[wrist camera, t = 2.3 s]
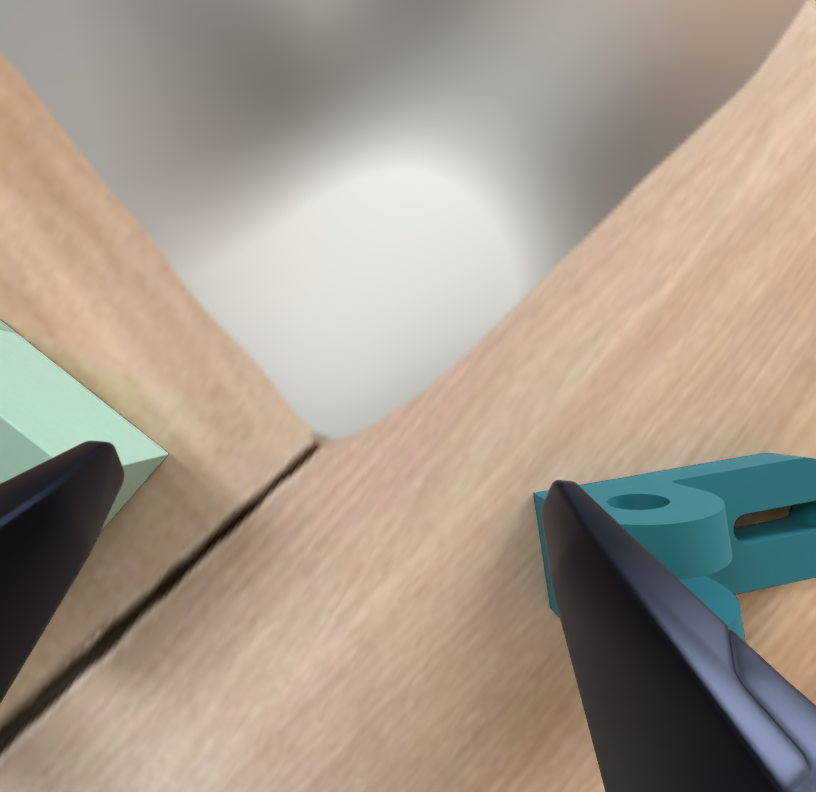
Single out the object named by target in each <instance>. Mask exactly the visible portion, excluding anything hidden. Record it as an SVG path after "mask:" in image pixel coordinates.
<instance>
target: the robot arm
mask: <svg viewBox="0 0 816 792" xmlns="http://www.w3.org/2000/svg"><path fill="white" fill-rule="evenodd" d="M124 476H125V474H124V469H123V466H122V464H121V461H120V459H119V456H118V453H117V451H116V448H115V446H114V445H113V444H112V443H110V442H104V441H86V442H83V443H81V444H79V445H77V446H75V447H73V448H71V449H69V450H67V451H65V452H63V453H61V454H59V455H57V456H55V457H53V458H51V459H49V460H47V461H45V462H43V463H41V464H39V465H37V466H35V467H33V468H31V469H29V470H27V471H25V472H23V473H21V474H19V475H17V476H15V477H13V478H11V479H9V480H7V481H5V482H3V483H1V484H0V703H1V702H2V700H3V698H4V697H5V695H6V693H7V692H8V690H9V688H10V687H11V685H12V683H13V682H14V680H15V678H16V677H17V675H18V673H19V672H20V670H21V668H22V667H23V665H24V663H25V662H26V660H27V658H28V657H29V655H30V653H31V652H32V650H33V648H34V647H35V645H36V643H37V642H38V640H39V638H40V637H41V635H42V633H43V632H44V630H45V628H46V627H47V625H48V623H49V622H50V620H51V618H52V617H53V615H54V613H55V612H56V610H57V608H58V606H59V605H60V603H61V601H62V600H63V598H64V596H65V595H66V593H67V591H68V590H69V588H70V586H71V585H72V583H73V581H74V580H75V578H76V576H77V575H78V573H79V571H80V570H81V568H82V566H83V565H84V563H85V561H86V559H87V558H88V556H89V554H90V552H91V550H92V548H93V546H94V544H95V542H96V540H97V538H98V536H99V534H100V532H101V530H102V527H103V525H104V523H105V521H106V519H107V517H108V514H109V512H110V510H111V508H112V506H113V504H114V501H115V499H116V497H117V495H118V493H119V491H120V489H121V486H122V484H123V481H124ZM541 516H542V523H543V530H544V537H545V543H546V550H547V557H548V564H549V571H550V577H551V582H552V587H553V591H554V596H555V600H556V603H557V607H558V611H559V615H560V619H561V623H562V626H563V630H564V634H565V638H566V642H567V646H568V649H569V653H570V657H571V661H572V665H573V669H574V672H575V676H576V680H577V684H578V688H579V692H580V695H581V699H582V703H583V707H584V711H585V715H586V718H587V722H588V726H589V730H590V734H591V738H592V741H593V745H594V749H595V753H596V757H597V761H598V764H599V768H600V772H601V776H602V780H603V784H604V787H605V791H606V792H816V705H815V704H813V703H812V702H811V701H810V700H809V699H808V698H806V697H805V696H804V695H803V694H802V693H801V692H800V691H798V690H797V689H796V688H795V687H794V686H793V685H791V684H790V683H789V682H788V681H787V680H786V679H785V678H784V677H782V676H781V675H780V674H779V673H778V672H777V671H776V670H775V669H774V668H773V667H772V666H770V665H769V664H768V663H767V662H766V661H765V660H764V659H763V658H762V657H761V656H760V655H758V654H757V653H756V652H755V651H754V650H753V649H752V648H751V647H750V646H749V645H748V644H747V643H746V642H744V641H743V640H742V639H741V638H740V637H739V636H738V635H737V634H736V633H735V632H734V631H733V630H729V629H728V626H727V625H726V624H725V623H724V622H723V621H722V620H721V619H720V618H719V617H718V616H717V615H716V614H715V613H714V612H712V611H711V610H710V609H709V608H708V607H707V606H706V605H705V604H704V603H703V602H702V601H701V600H700V599H699V598H698V597H697V596H695V595H694V594H693V593H692V592H691V591H690V590H689V589H688V588H687V587H686V586H685V585H684V584H683V583H682V582H681V581H680V580H679V579H677V578H676V577H675V576H674V575H673V574H672V573H671V572H670V571H669V570H668V569H667V568H666V567H665V566H664V565H663V564H662V563H660V562H659V561H658V560H657V559H656V558H655V557H654V556H653V555H652V554H651V553H650V552H649V551H648V550H647V549H646V548H645V547H644V546H642V545H641V544H640V543H639V542H638V541H637V540H636V539H635V538H634V537H633V536H632V535H631V534H630V533H629V532H628V531H627V530H625V529H624V528H623V527H622V526H621V525H620V524H619V523H618V522H617V521H616V520H615V519H614V518H613V517H612V516H611V515H610V514H609V513H607V512H606V511H605V510H604V509H603V508H602V507H601V506H600V505H599V504H598V503H597V502H596V501H595V500H594V499H593V498H592V497H590V496H589V495H588V494H587V493H586V492H585V491H584V490H583V489H582V488H581V487H580V486H579V485H578V484H576V483H575V482H572V481H562V480H556V481H554V482H553V484H552V485H551V487H550V490H549V492H548V494H547V496H546V498H545V500H544V503H543V505H542V510H541Z"/></svg>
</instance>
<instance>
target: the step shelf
mask: <svg viewBox="0 0 816 792" xmlns="http://www.w3.org/2000/svg"><path fill="white" fill-rule="evenodd" d="M86 441H104V442H110V443H112V444H113V445H114V446H115V448H116V451H117V453H118V456H119V459H120V461H121V464H122V466H123V469H124V474H125V476H124V481H123V484H122V486H121V489H120V491H119V493H118V495H117V497H116V499H115V501H114V504H113V506H112V508H111V510H110V512H109V514H108V517H107V519H106V521H105V523H104V525H103V527H102V530H103V528H104V527H105V526H106V525H107V524H108V523H109V522H110V520H111V519H112V518H113V517H114V516H115V515H116V514H117V512H118V511H119V510H120V509H121V508H122V507H123V506H124V505H125V503H126V502H127V501H128V500H129V499H130V498H131V497H132V495H133V494H134V493H135V492H136V491H137V490H138V489H139V487H140V486H141V485H142V484H143V483H144V482H145V481H146V479H147V478H148V477H149V476H150V475H151V474H152V473H153V472H154V470H155V469H156V468H157V467H158V466H159V465H160V464H161V462H162V461H163V460H164V459H165V458H166V457H167V456H168V453H167V452H166V451H165V450H163V449H162V448H161V447H160V446H158V445H157V444H156V443H155V442H153V441H152V440H151V439H150V438H148V437H147V436H146V435H144V434H143V433H142V432H141V431H139V430H138V429H137V428H136V427H134V426H133V425H132V424H131V423H129V422H128V421H127V420H126V419H124V418H123V417H122V416H121V415H119V414H118V413H117V412H116V411H114V410H113V409H112V408H110V407H109V406H108V405H107V404H105V403H104V402H103V401H102V400H100V399H99V398H98V397H97V396H95V395H94V394H93V393H92V392H90V391H89V390H88V389H87V388H85V387H84V386H83V385H81V384H80V383H79V382H78V381H76V380H75V379H74V378H73V377H71V376H70V375H69V374H68V373H66V372H65V371H64V370H63V369H61V368H60V367H59V366H58V365H56V364H55V363H54V362H53V361H51V360H50V359H49V358H47V357H46V356H45V355H44V354H42V353H41V352H40V351H39V350H37V349H36V348H35V347H34V346H32V345H31V344H30V343H29V342H27V341H26V340H25V339H24V338H22V337H21V336H20V335H18V334H17V333H16V332H15V331H13V330H12V329H11V328H10V327H8V326H7V325H6V324H5V323H3V322H2V321H1V320H0V484H1V483H3V482H5V481H7V480H9V479H11V478H13V477H15V476H17V475H19V474H21V473H23V472H25V471H27V470H29V469H31V468H33V467H35V466H37V465H39V464H41V463H43V462H45V461H47V460H49V459H51V458H53V457H55V456H57V455H59V454H61V453H63V452H65V451H67V450H69V449H71V448H73V447H75V446H77V445H79V444H81V443H83V442H86ZM102 530H101V531H102Z"/></svg>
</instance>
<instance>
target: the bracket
mask: <svg viewBox="0 0 816 792" xmlns="http://www.w3.org/2000/svg"><path fill="white" fill-rule="evenodd" d="M579 486H580V487H581V488H582V489H583V490H584V491H585V492H586V493H587V494H588V495H589V496H590V497H592V498H593V499H594V500H595V501H596V502H597V503H598V504H599V505H600V506H601V507H602V508H603V509H604V510H605V511H606V512H607V513H609V514H610V515H611V516H612V517H613V518H614V519H615V520H616V521H617V522H618V523H619V524H620V525H621V526H622V527H623V528H624V529H625V530H627V531H628V532H629V533H630V534H631V535H632V536H633V537H634V538H635V539H636V540H637V541H638V542H639V543H640V544H641V545H642V546H644V547H645V548H646V549H647V550H648V551H649V552H650V553H651V554H652V555H653V556H654V557H655V558H656V559H657V560H658V561H659V562H660V563H662V564H663V565H664V566H665V567H666V568H667V569H668V570H669V571H670V572H671V573H672V574H673V575H674V576H675V577H676V578H677V579H679V580H680V581H681V582H682V583H683V584H684V585H685V586H686V587H687V588H688V589H689V590H690V591H691V592H692V593H693V594H694V595H695V596H697V597H698V598H699V599H700V600H701V601H702V602H703V603H704V604H705V605H706V606H707V607H708V608H709V609H710V610H711V611H712V612H714V613H715V614H716V615H717V616H718V617H719V618H720V619H721V620H722V621H723V622H724V623H725V624H726V625H727V626H728V629H729V630H733V631H734V632H735V633H736V634H737V635H738V636H739V637H740V638H741V639H742V640H743V641H744V642H745V635H744V629H743V622H742V615H741V609H740V603H739V601H738V599H737V598H736V596H735V594H739V593H744V592H749V591H754V590H758V589H763V588H768V587H773V586H778V585H782V584H787V583H792V582H797V581H802V580H806V579H811V578H816V459H813V458H805V457H797V456H789V455H780V454H772V453H763V454H756V455H750V456H745V457H739V458H733V459H727V460H722V461H716V462H710V463H704V464H699V465H693V466H687V467H681V468H676V469H670V470H664V471H658V472H653V473H647V474H641V475H635V476H629V477H624V478H618V479H612V480H606V481H601V482H595V483H589V484H583V485H579ZM548 492H549V491H543V492H537V493H533V494H534V501H535V507H536V514H537V521H538V528H539V534H540V541H541V548H542V555H543V561H544V568H545V575H546V582H547V588H548V595H549V602H550V608H551V609H552V610H553V612H554V613H555V614H556V615H557V616H558V617H559V618H560V615H559V611H558V607H557V603H556V600H555V596H554V591H553V587H552V582H551V577H550V571H549V564H548V557H547V550H546V543H545V537H544V530H543V523H542V516H541V510H542V505H543V503H544V500H545V498H546V496H547V494H548ZM790 505H793V507H792V511H791V513H790V514H789V516H787V517H786V518H784V519H779V520H774V521H769V522H764V523H759V524H753V525H748V526H743V527H738V528H734V524H735V521H736V520H737V518H738V517H740V516H741V515H743V514H747V513H753V512H758V511H763V510H769V509H774V508H779V507H785V506H790Z"/></svg>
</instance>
